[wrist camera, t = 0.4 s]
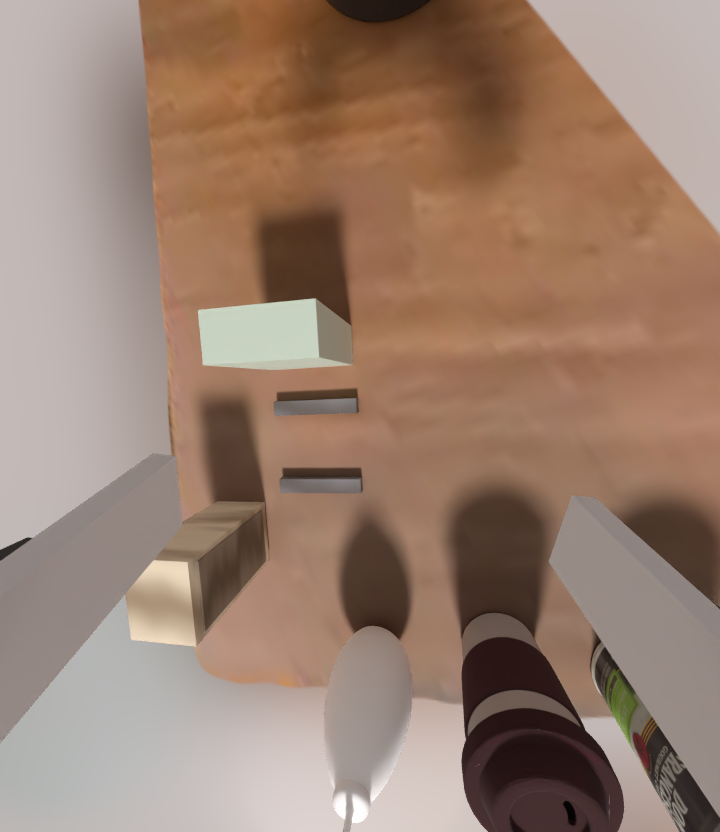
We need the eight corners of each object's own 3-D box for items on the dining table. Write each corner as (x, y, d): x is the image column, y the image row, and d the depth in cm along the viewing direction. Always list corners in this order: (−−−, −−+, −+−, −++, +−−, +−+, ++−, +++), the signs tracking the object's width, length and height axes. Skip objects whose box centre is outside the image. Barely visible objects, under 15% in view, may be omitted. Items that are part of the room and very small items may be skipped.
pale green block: (270, 332, 36) (197, 310, 25) (351, 325, 35) (315, 298, 23) (272, 369, 37) (203, 365, 25) (353, 365, 35) (319, 357, 23)
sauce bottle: (354, 595, 38) (296, 784, 20) (422, 621, 37) (423, 844, 19) (337, 654, 39) (267, 881, 21) (402, 681, 38) (385, 943, 20)
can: (590, 713, 34) (703, 936, 21) (589, 619, 34) (706, 786, 20) (708, 724, 33) (919, 978, 19) (710, 625, 32) (934, 815, 18)
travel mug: (436, 663, 37) (446, 850, 22) (465, 584, 35) (496, 729, 21) (528, 700, 35) (604, 926, 21) (562, 619, 34) (669, 801, 19)
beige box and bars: (208, 404, 39) (103, 416, 26) (357, 397, 35) (322, 407, 23) (222, 557, 40) (131, 639, 28) (366, 565, 37) (337, 661, 24)
